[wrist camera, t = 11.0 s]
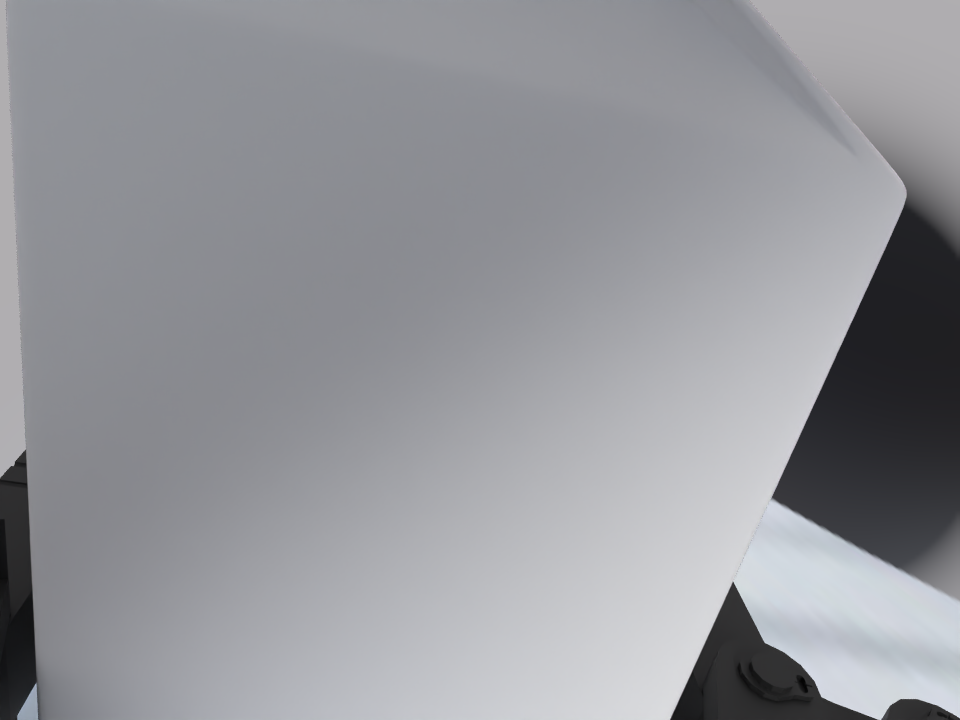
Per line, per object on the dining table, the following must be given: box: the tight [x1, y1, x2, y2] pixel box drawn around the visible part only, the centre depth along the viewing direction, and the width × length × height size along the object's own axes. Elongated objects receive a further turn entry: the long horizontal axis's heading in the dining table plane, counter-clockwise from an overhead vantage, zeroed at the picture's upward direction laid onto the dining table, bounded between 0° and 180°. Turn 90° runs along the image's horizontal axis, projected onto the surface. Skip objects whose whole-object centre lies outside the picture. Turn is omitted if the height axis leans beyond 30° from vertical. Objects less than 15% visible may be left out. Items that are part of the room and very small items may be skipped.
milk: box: [6, 0, 907, 720], centre depth 11 cm, size 6×6×22 cm
